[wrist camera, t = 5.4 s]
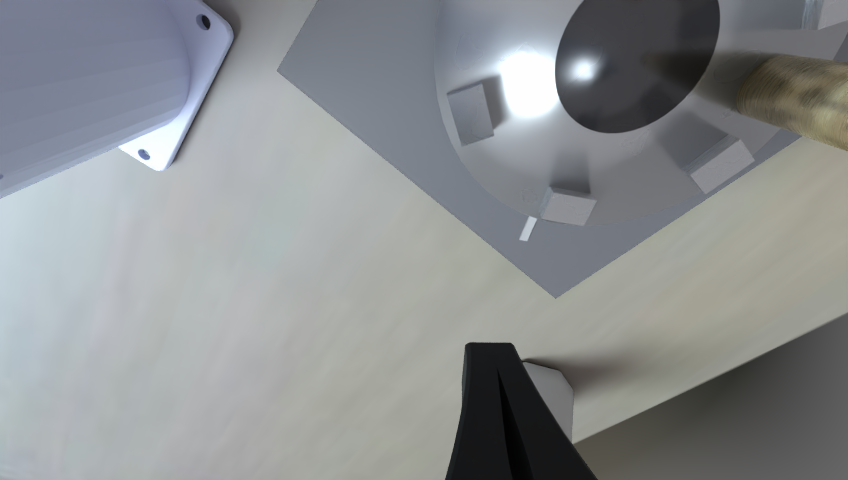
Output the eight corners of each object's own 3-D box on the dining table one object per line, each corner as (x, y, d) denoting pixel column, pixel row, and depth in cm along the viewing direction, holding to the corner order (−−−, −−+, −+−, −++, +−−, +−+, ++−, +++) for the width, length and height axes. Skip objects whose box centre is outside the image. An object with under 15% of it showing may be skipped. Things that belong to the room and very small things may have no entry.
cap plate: (285, 67, 15) (275, 71, 14) (732, -680, 7) (777, -782, 6) (550, 287, 21) (556, 299, 20) (934, 25, 13) (972, 26, 12)
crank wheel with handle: (407, 178, 16) (394, 271, 10) (491, -293, 9) (596, -820, 3) (669, 226, 17) (785, 333, 11) (932, -155, 10) (1576, -366, 4)
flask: (525, 346, 24) (574, 524, 16) (589, 387, 27) (661, 559, 18) (455, 393, 27) (466, 561, 19) (519, 425, 30) (552, 587, 21)
